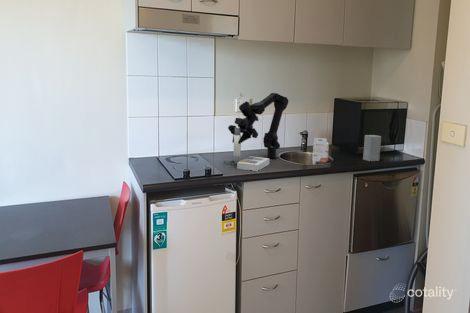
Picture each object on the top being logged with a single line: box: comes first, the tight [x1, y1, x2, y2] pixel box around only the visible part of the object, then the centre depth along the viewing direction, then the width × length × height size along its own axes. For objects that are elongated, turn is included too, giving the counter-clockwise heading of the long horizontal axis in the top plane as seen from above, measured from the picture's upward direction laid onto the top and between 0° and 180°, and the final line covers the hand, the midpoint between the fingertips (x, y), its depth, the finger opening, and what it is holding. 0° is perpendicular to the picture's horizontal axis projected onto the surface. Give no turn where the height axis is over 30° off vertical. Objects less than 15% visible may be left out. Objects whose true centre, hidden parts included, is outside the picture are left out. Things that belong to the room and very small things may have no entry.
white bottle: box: [233, 129, 242, 157], centre depth 242 cm, size 4×4×15 cm
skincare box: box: [362, 134, 382, 162], centre depth 268 cm, size 8×7×16 cm
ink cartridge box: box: [312, 137, 330, 163], centre depth 262 cm, size 9×5×15 cm, turn 62°
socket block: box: [236, 155, 271, 172], centre depth 244 cm, size 20×12×4 cm, turn 156°
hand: (235, 142), depth 241 cm, fingers closed on white bottle, 4 cm apart
